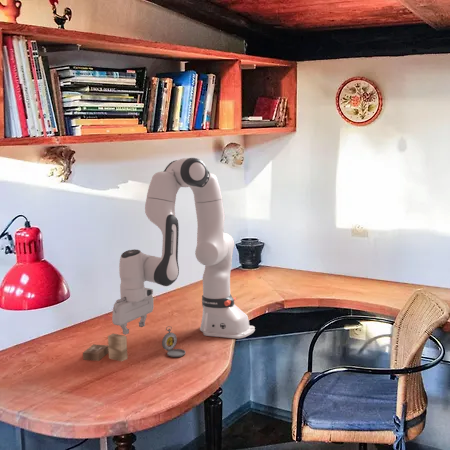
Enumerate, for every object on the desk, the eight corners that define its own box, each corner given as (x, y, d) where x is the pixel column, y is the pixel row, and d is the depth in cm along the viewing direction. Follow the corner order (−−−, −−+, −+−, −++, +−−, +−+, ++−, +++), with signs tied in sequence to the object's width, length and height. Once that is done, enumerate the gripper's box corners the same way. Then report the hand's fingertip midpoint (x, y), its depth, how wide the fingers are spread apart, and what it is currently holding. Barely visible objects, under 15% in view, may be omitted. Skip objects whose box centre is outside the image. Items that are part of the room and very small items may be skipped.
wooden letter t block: (127, 358, 223) (126, 335, 221) (122, 361, 220) (120, 338, 219) (114, 355, 226) (113, 333, 224) (109, 358, 223) (107, 335, 222)
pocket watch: (183, 358, 221) (182, 331, 220) (160, 357, 223) (159, 330, 221) (188, 350, 229) (187, 324, 228) (166, 349, 231) (165, 323, 229)
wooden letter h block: (108, 345, 229) (98, 353, 220) (108, 353, 229) (98, 361, 221) (93, 344, 230) (82, 352, 222) (93, 352, 231) (83, 360, 222)
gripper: (121, 302, 218) (122, 340, 220) (155, 288, 235) (157, 323, 237) (107, 300, 221) (109, 337, 223) (142, 286, 238) (143, 321, 240)
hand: (134, 330), depth 230 cm, fingers open, 8 cm apart
